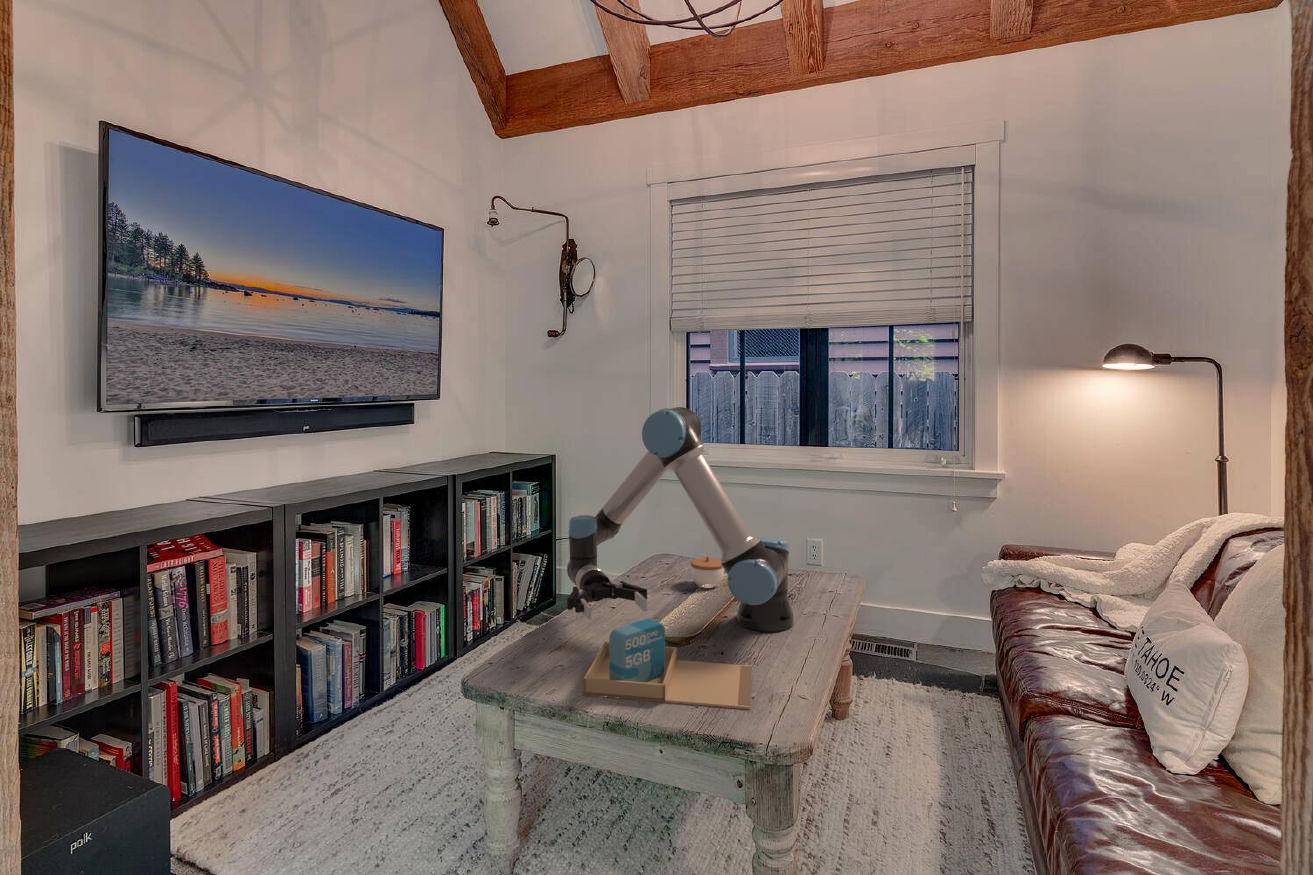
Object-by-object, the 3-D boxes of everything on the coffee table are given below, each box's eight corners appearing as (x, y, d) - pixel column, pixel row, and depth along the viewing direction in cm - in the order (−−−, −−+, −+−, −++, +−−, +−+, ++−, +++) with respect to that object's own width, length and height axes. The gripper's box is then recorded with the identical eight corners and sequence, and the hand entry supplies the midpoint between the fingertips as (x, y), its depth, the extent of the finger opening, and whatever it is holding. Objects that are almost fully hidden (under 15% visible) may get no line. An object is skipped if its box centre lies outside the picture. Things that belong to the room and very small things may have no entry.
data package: (622, 692, 138) (622, 636, 137) (608, 684, 141) (608, 629, 140) (665, 675, 146) (665, 622, 145) (651, 668, 149) (651, 616, 148)
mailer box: (751, 667, 152) (751, 652, 151) (750, 709, 133) (750, 692, 132) (604, 656, 157) (604, 642, 157) (583, 695, 138) (583, 678, 138)
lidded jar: (701, 593, 203) (701, 563, 202) (684, 583, 213) (684, 554, 212) (730, 588, 208) (731, 558, 207) (712, 578, 218) (712, 550, 217)
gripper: (638, 591, 179) (667, 617, 159) (546, 603, 170) (565, 632, 150) (637, 564, 178) (667, 587, 158) (545, 574, 169) (564, 600, 149)
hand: (617, 609), depth 154 cm, fingers open, 13 cm apart
